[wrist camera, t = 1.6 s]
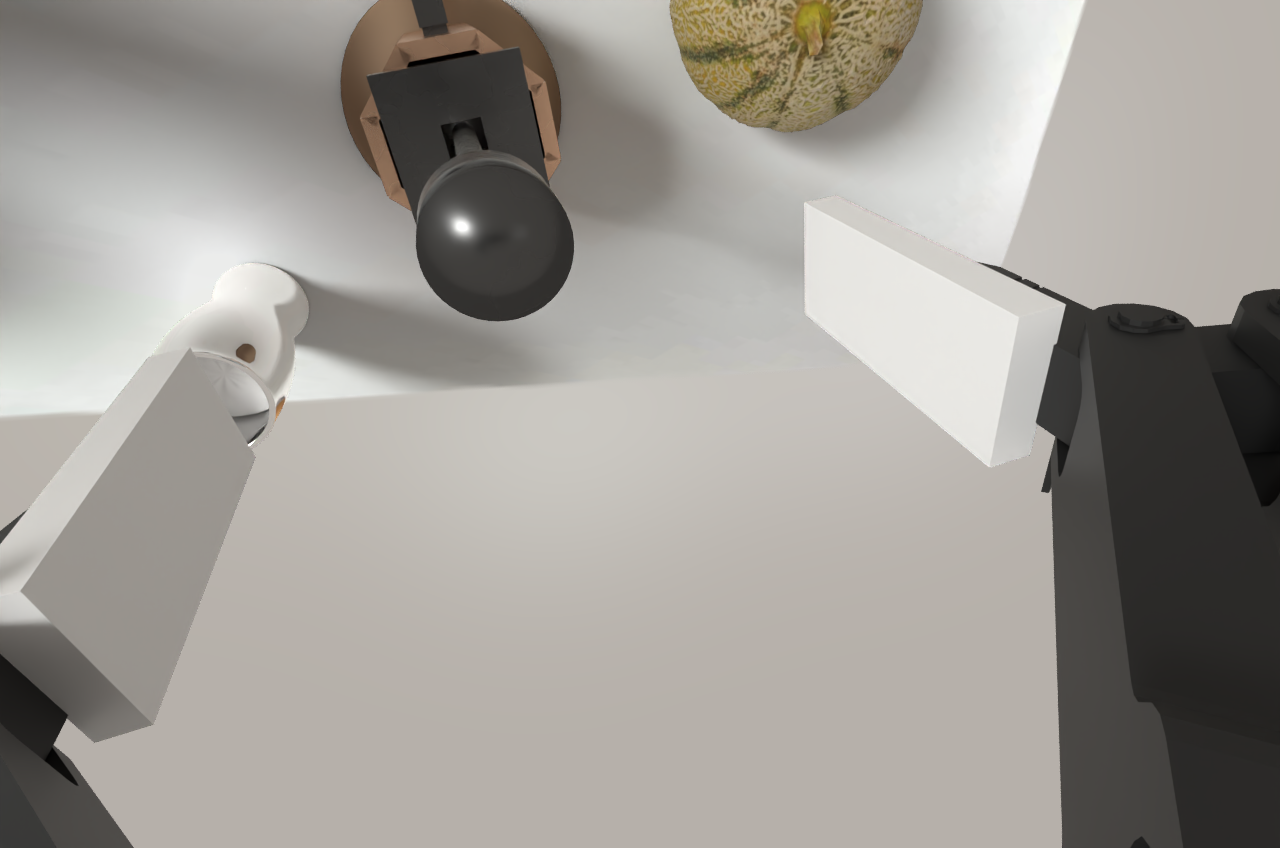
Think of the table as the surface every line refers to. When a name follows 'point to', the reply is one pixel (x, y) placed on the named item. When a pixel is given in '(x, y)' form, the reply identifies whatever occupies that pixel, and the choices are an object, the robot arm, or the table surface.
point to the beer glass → (246, 343)
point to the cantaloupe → (791, 55)
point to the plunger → (491, 230)
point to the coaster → (395, 16)
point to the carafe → (452, 103)
